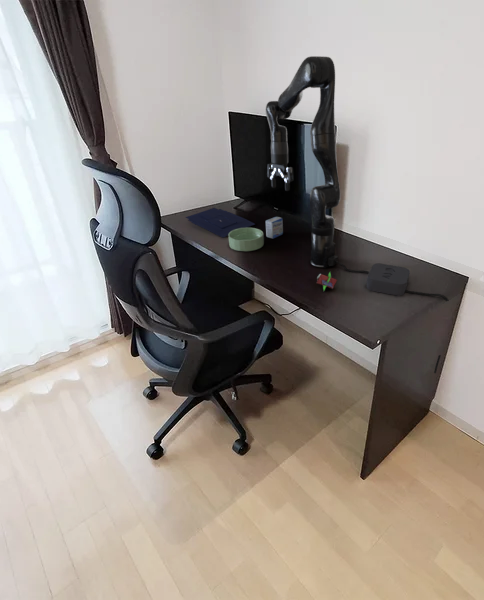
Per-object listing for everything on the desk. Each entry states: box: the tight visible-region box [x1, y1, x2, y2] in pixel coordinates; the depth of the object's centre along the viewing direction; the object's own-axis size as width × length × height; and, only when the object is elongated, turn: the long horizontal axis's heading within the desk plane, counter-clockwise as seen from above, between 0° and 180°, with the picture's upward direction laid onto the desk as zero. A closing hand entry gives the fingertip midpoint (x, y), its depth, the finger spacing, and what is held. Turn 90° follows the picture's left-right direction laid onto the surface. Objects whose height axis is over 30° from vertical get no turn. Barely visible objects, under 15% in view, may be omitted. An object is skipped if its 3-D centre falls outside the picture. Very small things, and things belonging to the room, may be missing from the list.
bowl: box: [227, 227, 265, 252], centre depth 174 cm, size 16×16×6 cm
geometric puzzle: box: [316, 271, 338, 292], centre depth 139 cm, size 7×7×8 cm
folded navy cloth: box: [185, 207, 256, 239], centre depth 196 cm, size 24×30×4 cm
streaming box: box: [365, 262, 411, 296], centre depth 142 cm, size 14×14×5 cm
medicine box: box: [265, 216, 284, 239], centre depth 183 cm, size 8×4×9 cm, turn 143°
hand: (280, 189), depth 171 cm, fingers open, 8 cm apart
